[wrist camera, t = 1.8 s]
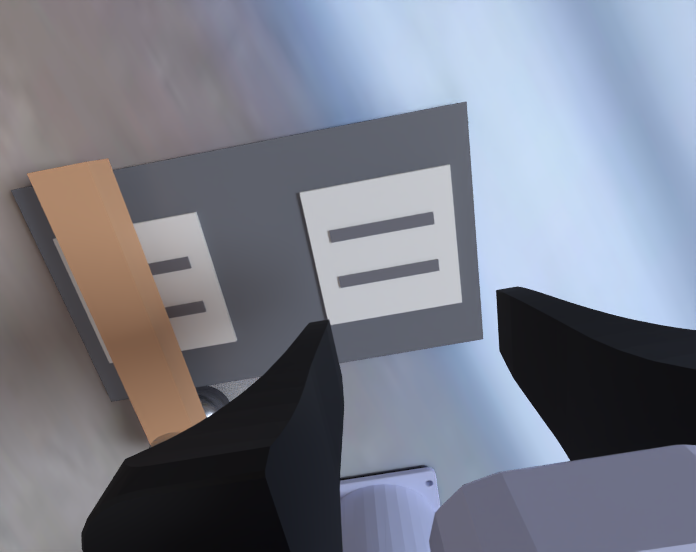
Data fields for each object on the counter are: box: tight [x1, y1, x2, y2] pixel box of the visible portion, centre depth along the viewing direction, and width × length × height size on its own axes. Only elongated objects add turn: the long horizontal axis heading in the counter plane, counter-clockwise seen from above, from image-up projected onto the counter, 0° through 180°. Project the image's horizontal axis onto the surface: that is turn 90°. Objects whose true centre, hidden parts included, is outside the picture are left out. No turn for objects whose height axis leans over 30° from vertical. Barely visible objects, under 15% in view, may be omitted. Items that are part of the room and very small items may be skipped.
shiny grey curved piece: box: [195, 386, 229, 417], centre depth 23 cm, size 3×3×2 cm
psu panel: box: [11, 102, 483, 402], centre depth 20 cm, size 12×21×1 cm, turn 100°
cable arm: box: [27, 159, 207, 448], centre depth 19 cm, size 16×3×2 cm, turn 10°
